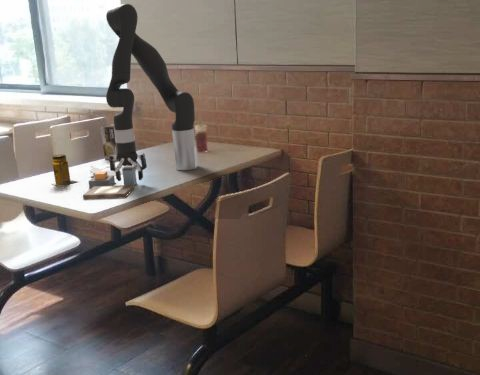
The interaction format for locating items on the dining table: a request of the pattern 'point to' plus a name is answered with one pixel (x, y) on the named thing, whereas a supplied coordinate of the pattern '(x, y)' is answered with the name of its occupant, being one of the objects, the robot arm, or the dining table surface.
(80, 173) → the dining table surface
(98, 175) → the button
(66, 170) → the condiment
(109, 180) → the button housing
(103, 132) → the coffee box
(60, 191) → the dining table surface
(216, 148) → the dining table surface
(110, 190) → the drawing board
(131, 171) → the grey rectangular box
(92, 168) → the paper
